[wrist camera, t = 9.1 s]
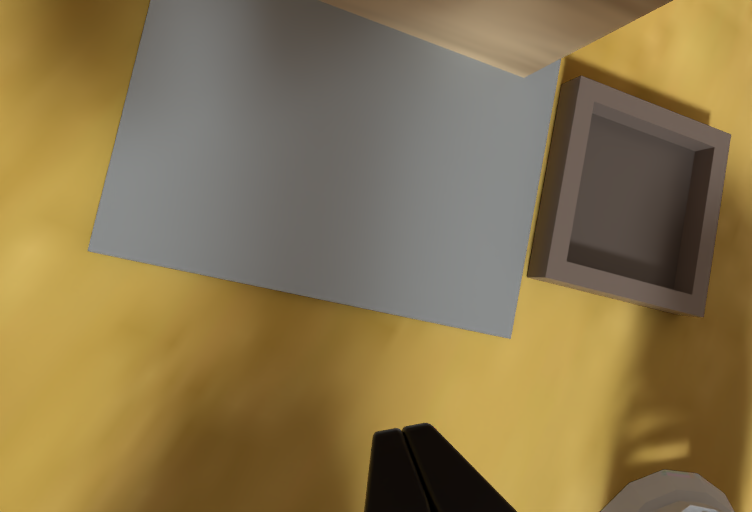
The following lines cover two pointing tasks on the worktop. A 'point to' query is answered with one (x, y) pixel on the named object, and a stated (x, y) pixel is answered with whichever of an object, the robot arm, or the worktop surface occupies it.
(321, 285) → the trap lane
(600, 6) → the oak block
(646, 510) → the french press
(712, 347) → the worktop surface
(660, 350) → the worktop surface
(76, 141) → the worktop surface
